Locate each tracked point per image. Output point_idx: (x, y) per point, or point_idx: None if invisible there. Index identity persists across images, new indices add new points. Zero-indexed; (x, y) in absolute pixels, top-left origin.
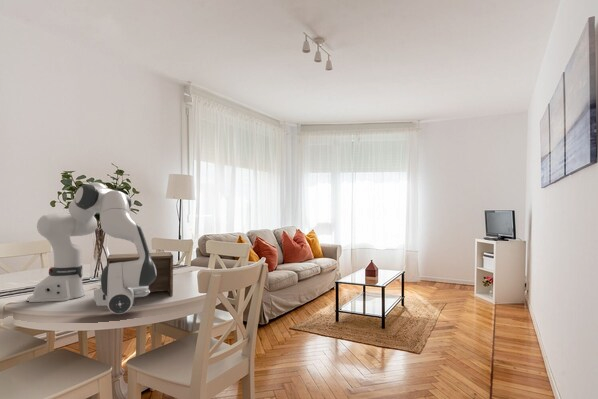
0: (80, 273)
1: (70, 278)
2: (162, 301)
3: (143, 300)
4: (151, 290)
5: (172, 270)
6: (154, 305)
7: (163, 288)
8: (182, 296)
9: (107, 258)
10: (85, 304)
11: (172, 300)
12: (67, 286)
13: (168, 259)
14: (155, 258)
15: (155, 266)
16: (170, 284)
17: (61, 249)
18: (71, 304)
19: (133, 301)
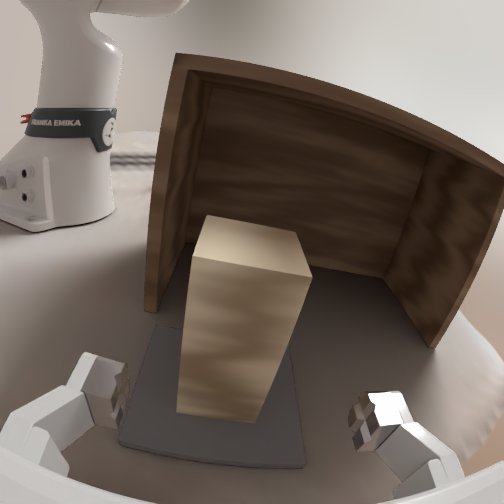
0: (98, 136)
1: (59, 150)
2: (435, 423)
3: (335, 374)
4: (331, 264)
5: (488, 243)
6: None
7: (371, 268)
8: (470, 365)
9: (180, 53)
10: (50, 302)
11: (467, 415)
12: (45, 180)
13: (423, 168)
14: (383, 146)
15: (374, 178)
16: (451, 301)
17: (52, 41)
18: (18, 274)
19: (290, 399)
